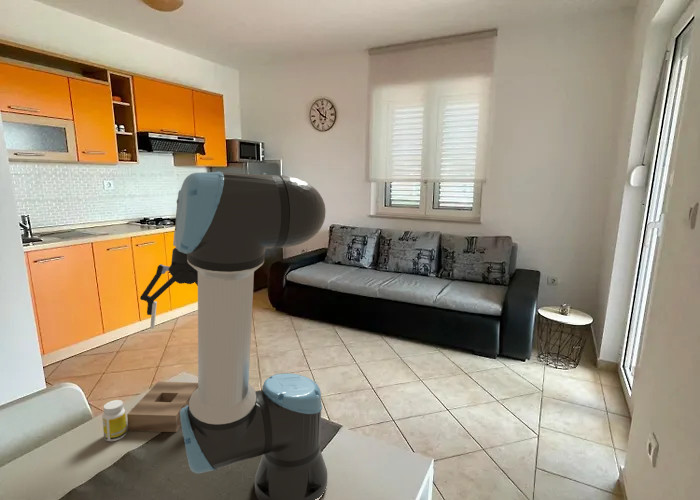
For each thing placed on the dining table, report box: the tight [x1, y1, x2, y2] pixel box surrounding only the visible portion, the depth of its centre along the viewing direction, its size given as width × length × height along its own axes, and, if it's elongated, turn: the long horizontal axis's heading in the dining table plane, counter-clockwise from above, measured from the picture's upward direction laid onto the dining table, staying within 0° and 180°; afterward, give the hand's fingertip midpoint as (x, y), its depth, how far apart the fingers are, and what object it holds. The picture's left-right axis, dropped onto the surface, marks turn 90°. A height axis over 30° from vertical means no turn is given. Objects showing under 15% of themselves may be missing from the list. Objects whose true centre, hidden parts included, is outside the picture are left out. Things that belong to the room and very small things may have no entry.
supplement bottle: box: [102, 399, 128, 442], centre depth 93 cm, size 5×5×8 cm
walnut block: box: [126, 381, 198, 433], centre depth 104 cm, size 16×12×4 cm
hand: (180, 327), depth 102 cm, fingers open, 13 cm apart
